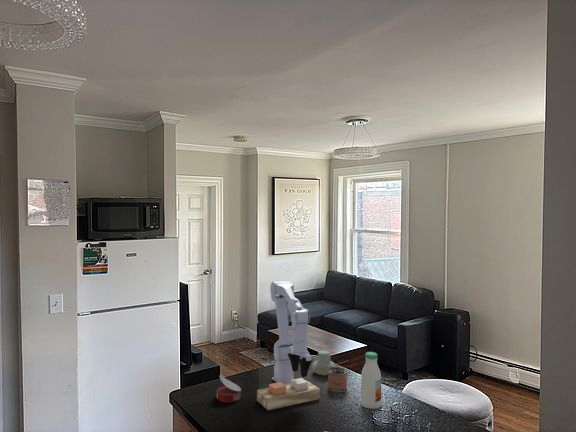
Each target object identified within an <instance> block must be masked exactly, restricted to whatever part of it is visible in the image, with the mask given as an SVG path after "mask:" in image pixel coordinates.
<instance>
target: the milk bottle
mask: <svg viewBox="0 0 576 432" xmlns="http://www.w3.org/2000/svg"><path fill="white" fill-rule="evenodd" d="M378 356H379V355H378V353H376V352H374V351H367V352H365V362H364V366H363V367H362V370H361V375H360V376H361V377H360V378H361V379H360V404H361V406H362V407H363V408H366V409H369V410H377V409H380V408H381V406H382V375H381V370H380V368H379V365H378Z"/></svg>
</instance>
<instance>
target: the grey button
mask: <svg viewBox="0 0 576 432" xmlns="http://www.w3.org/2000/svg"><path fill="white" fill-rule="evenodd" d="M306 380H307V379H304V377H299V378H294V379H293V380H291V387H292V388H293V389H295V390H296V391H300V390H304V389H308V382H309V381H308V380H307V381H308V382H307V381H306Z"/></svg>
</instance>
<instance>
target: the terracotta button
mask: <svg viewBox="0 0 576 432" xmlns="http://www.w3.org/2000/svg"><path fill="white" fill-rule="evenodd" d="M268 388H269V392H270V393H271V394H273V395H274V396H276V395H280V394H285V393H286V386H285V385H284V384H282V383H281V382H278V383H277V382H273V383H269V384H268Z"/></svg>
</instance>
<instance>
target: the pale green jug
mask: <svg viewBox="0 0 576 432" xmlns="http://www.w3.org/2000/svg"><path fill="white" fill-rule="evenodd" d="M330 366H335V367H337V366H336V364H335V363H334V361H332V360H331V351H329V350H323V349H322V350H319V351H317V360H315V361H314V362H312V364H311V367H312V370H313V371H314V373H315V374H317V375H319V376H321V375H322V376H323V377H326V376H328V371H333V370H330ZM334 371H336V370H334Z"/></svg>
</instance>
